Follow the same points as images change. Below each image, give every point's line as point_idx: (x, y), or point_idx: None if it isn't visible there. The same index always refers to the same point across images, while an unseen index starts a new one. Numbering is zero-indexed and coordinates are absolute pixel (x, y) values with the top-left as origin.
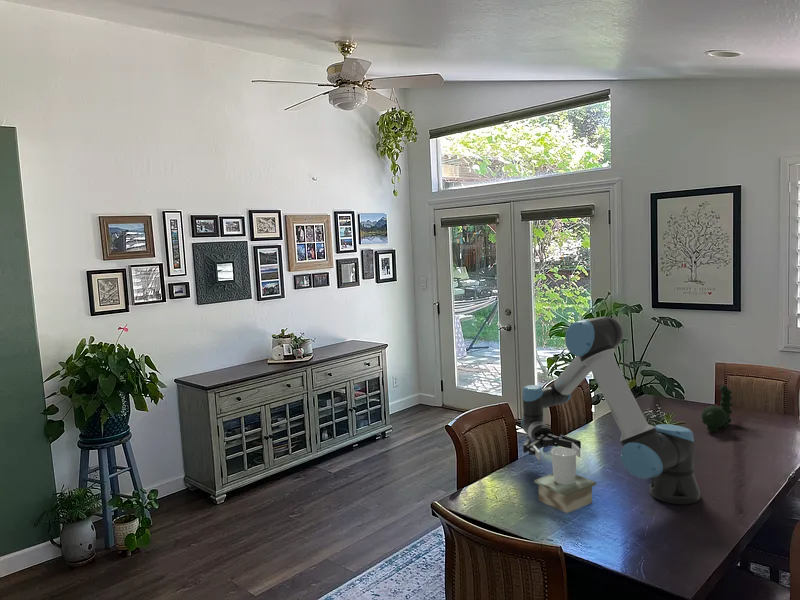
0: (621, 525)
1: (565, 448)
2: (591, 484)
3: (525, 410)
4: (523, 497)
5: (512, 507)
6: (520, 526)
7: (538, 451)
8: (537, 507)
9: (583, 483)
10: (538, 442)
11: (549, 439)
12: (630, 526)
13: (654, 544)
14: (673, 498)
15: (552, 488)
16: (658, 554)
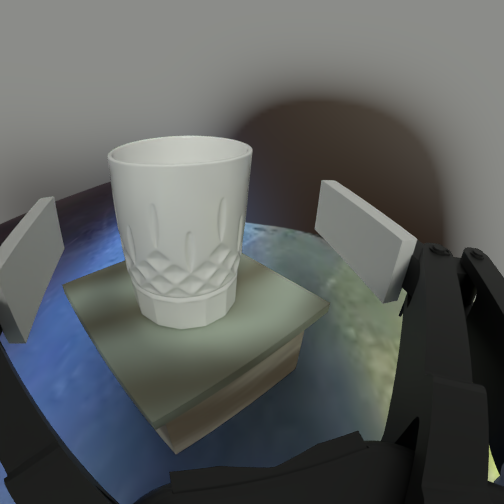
0: (94, 259)
1: (144, 168)
2: (88, 275)
3: None
4: (358, 385)
5: (372, 322)
6: (325, 256)
7: (334, 184)
8: None
9: (114, 279)
10: (418, 361)
11: (243, 483)
12: (79, 257)
13: (82, 223)
14: None
15: (247, 258)
16: (96, 210)
